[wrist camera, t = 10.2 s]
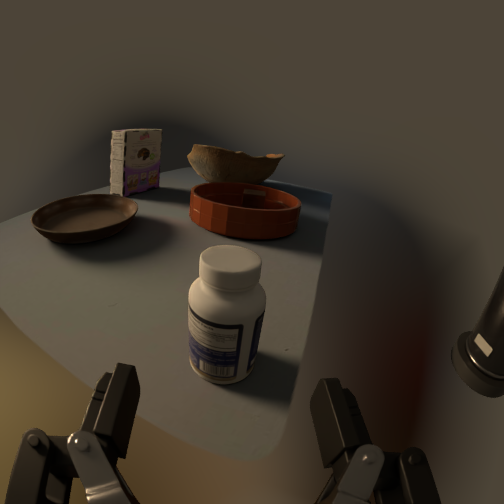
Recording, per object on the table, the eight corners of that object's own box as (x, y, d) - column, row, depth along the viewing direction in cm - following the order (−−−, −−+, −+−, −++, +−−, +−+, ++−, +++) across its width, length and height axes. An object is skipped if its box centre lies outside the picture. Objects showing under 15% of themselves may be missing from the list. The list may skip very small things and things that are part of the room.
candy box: (144, 184, 75) (148, 128, 68) (159, 187, 73) (163, 129, 66) (108, 194, 63) (110, 129, 56) (123, 197, 61) (125, 129, 54)
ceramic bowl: (224, 168, 104) (233, 131, 97) (285, 195, 95) (298, 155, 88) (166, 178, 81) (174, 131, 73) (236, 214, 72) (251, 158, 64)
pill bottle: (228, 332, 25) (240, 235, 21) (266, 368, 22) (291, 266, 18) (177, 352, 22) (175, 247, 18) (212, 396, 18) (219, 287, 14)
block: (262, 211, 61) (265, 191, 59) (262, 217, 57) (265, 196, 55) (242, 208, 61) (244, 188, 59) (240, 214, 57) (243, 192, 55)
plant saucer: (151, 239, 42) (151, 219, 40) (26, 259, 30) (22, 238, 29) (127, 204, 56) (127, 190, 55) (39, 216, 45) (38, 201, 43)
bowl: (305, 220, 62) (310, 196, 59) (278, 253, 43) (284, 219, 41) (220, 200, 68) (223, 178, 65) (167, 222, 49) (168, 193, 47)
